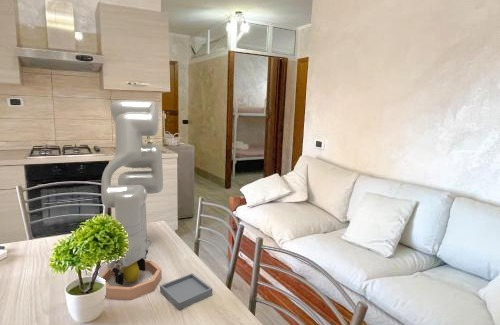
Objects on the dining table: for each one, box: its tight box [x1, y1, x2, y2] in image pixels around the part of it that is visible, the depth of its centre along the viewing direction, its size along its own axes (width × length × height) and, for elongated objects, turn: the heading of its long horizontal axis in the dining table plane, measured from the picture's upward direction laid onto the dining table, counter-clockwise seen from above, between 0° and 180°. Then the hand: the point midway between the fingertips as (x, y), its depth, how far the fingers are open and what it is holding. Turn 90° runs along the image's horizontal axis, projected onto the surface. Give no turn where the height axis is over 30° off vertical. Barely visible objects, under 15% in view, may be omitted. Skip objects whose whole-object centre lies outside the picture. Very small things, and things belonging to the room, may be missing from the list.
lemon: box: [122, 262, 140, 284], centre depth 109 cm, size 6×6×8 cm
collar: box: [99, 259, 162, 301], centre depth 110 cm, size 18×18×4 cm
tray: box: [159, 272, 213, 311], centre depth 105 cm, size 12×12×2 cm
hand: (130, 276), depth 109 cm, fingers open, 9 cm apart
